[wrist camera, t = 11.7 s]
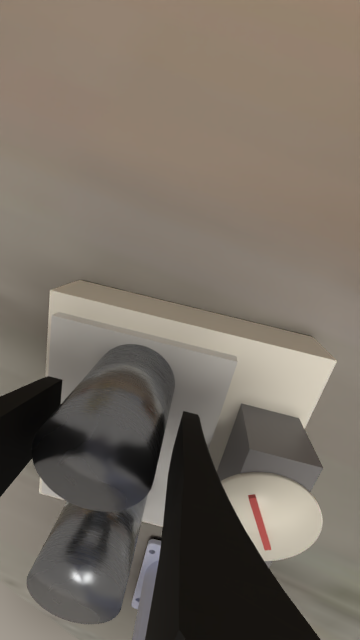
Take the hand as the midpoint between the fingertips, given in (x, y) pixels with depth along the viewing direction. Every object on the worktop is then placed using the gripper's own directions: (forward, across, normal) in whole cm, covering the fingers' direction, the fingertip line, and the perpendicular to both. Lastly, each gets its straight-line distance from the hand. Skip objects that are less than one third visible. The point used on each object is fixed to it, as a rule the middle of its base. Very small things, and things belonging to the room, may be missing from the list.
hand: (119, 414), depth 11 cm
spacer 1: (+2, 0, 0) cm, 2 cm away
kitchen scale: (+6, -2, +4) cm, 7 cm away
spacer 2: (+2, 0, +7) cm, 7 cm away
